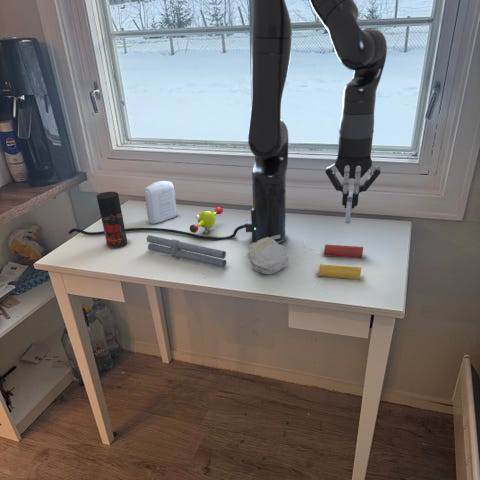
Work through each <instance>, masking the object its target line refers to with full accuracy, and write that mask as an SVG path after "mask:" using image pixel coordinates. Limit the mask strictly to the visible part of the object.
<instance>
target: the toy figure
mask: <svg viewBox="0 0 480 480" xmlns="http://www.w3.org/2000/svg"><path fill="white" fill-rule="evenodd" d="M223 212H224V210H223V207H222V206H216V207H215V209H214V211H213V212H212V211H210V210H203V211H201V212H199V214H196V215H195V219H196V220H197V222H198V223H197V224H191V225H190V226H189V231H190V233H192V234H196V233H197V232H198V231H199V228H201V227H202V228H204V231H203V233H204V234H208V232H212V230H211V228H212V227H213V226H214V225H215V223H216V216H217V215H221V214H223Z"/></svg>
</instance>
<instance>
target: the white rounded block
mask: <svg viewBox="0 0 480 480" xmlns="http://www.w3.org/2000/svg"><path fill="white" fill-rule="evenodd" d="M143 192H144V193H143V194H144V201H145V208H146V213H147V220H148V222H149V223H150V224H152V225H155V224H159V223H162V222H164V221H167V220H170V219H173V218H176V217H177V216H178V211H177V202H176V192H175V187H174V184H173V182H172V181H170V180H159V181H155V182H153V183H151V184H149V185H148V186H146V187H145V188H144V191H143Z"/></svg>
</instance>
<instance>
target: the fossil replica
mask: <svg viewBox="0 0 480 480" xmlns="http://www.w3.org/2000/svg"><path fill="white" fill-rule="evenodd" d="M247 256H248V259H249V261H250V264H251V267H252V269H253V271H254V272H258V273H261V274H263V275H274V274H275V273H277V272H279V271H281V270H282V269H284V268H285V267H286V266H287V265H288V264H289V261H290V258H289V256H288V252H287V250H286V247H285V246H284V245H283V244H280V243H279V244H278V243H277V242H276V241H275V240H274V239H272V238H269V237H266V238H263V239H261V240H259V241H257V242H252V243H250V244H249V245H248V250H247Z"/></svg>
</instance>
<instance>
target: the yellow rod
mask: <svg viewBox="0 0 480 480" xmlns="http://www.w3.org/2000/svg"><path fill="white" fill-rule="evenodd" d="M361 273H362V267H360V266H348V265H334V264H323V263H320V264H319V268H318V277H323V278H336V279H348V280H359V281H360V280H361Z"/></svg>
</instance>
